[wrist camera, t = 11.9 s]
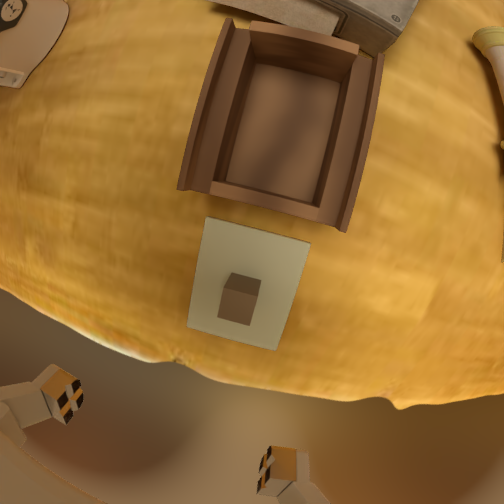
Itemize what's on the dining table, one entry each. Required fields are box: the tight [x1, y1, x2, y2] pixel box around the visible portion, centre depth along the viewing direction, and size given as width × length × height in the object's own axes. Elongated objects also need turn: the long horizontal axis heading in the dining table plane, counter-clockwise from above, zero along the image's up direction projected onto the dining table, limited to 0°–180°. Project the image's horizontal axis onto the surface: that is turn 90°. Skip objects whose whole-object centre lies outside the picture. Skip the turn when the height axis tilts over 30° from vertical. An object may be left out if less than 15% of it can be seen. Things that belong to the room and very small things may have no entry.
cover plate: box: [187, 216, 311, 351], centre depth 26 cm, size 10×12×5 cm
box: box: [177, 18, 385, 233], centre depth 20 cm, size 12×14×8 cm
